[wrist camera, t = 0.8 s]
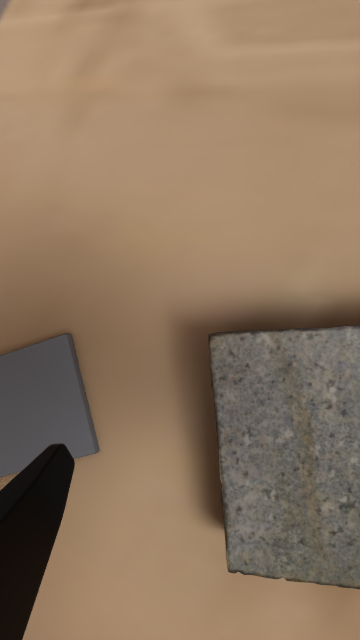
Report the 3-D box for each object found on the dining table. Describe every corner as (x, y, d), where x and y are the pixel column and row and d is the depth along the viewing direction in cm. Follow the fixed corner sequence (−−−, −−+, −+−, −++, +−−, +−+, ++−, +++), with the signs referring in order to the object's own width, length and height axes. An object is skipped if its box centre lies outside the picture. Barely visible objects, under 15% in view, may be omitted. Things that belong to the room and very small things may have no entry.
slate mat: (99, 450, 24) (95, 453, 24) (-1, 475, 26) (-7, 478, 26) (70, 333, 25) (66, 333, 25) (-24, 365, 27) (-30, 365, 27)
